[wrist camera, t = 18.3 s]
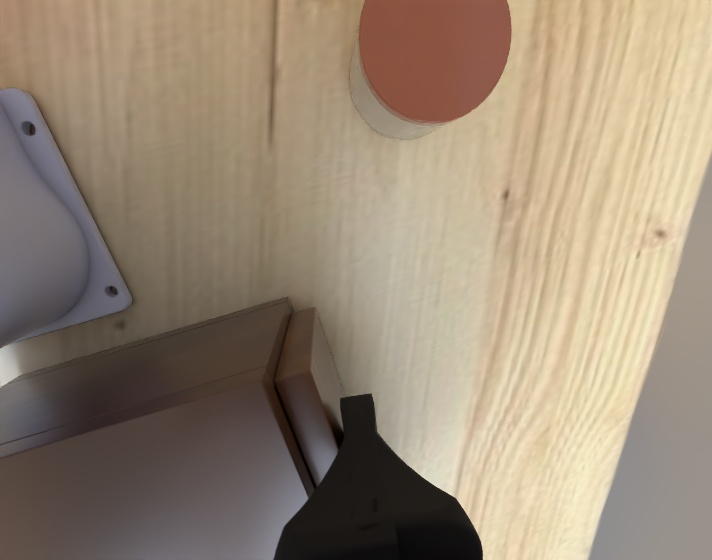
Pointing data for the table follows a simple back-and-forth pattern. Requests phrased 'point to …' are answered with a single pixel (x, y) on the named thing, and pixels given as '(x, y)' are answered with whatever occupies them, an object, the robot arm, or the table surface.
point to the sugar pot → (426, 62)
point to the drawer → (310, 393)
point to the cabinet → (154, 449)
